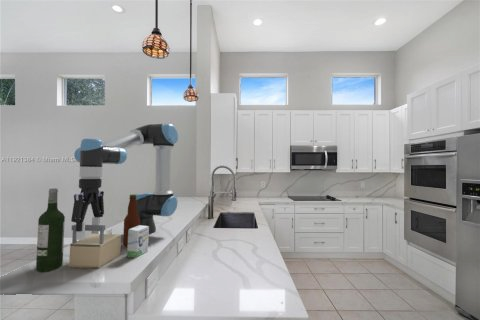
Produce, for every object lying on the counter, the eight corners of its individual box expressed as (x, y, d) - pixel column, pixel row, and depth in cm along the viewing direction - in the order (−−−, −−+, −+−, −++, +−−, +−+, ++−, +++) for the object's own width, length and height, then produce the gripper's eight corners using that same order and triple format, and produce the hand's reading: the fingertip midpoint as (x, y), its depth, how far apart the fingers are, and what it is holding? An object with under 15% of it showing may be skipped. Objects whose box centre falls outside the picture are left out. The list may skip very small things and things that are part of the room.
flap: (94, 235, 103) (95, 218, 104) (121, 236, 103) (121, 219, 103) (69, 245, 89) (70, 225, 90) (100, 246, 89) (101, 226, 89)
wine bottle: (30, 269, 86) (34, 189, 87) (54, 262, 93) (57, 187, 95) (44, 273, 83) (48, 190, 85) (67, 265, 91) (70, 188, 92)
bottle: (140, 242, 120) (142, 193, 121) (137, 247, 113) (139, 195, 114) (125, 243, 118) (127, 194, 119) (121, 248, 111) (123, 195, 112)
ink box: (138, 250, 109) (139, 224, 109) (148, 251, 108) (149, 225, 108) (126, 256, 100) (127, 229, 101) (136, 258, 99) (137, 230, 100)
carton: (94, 253, 103) (94, 235, 103) (120, 254, 102) (120, 236, 103) (69, 267, 89) (70, 246, 89) (99, 268, 88) (100, 247, 89)
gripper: (98, 176, 102) (96, 229, 101) (60, 178, 82) (56, 244, 81) (115, 177, 101) (113, 229, 101) (80, 179, 81) (77, 245, 80)
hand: (88, 236), depth 91 cm, fingers open, 8 cm apart
